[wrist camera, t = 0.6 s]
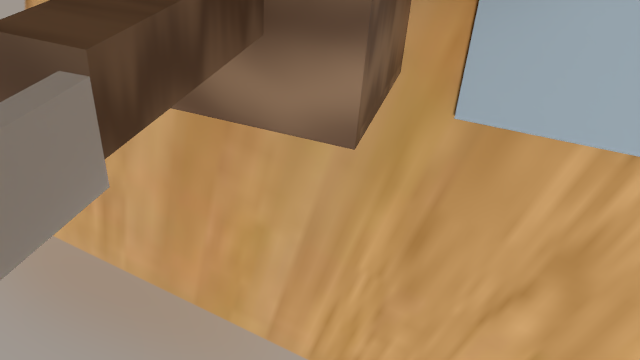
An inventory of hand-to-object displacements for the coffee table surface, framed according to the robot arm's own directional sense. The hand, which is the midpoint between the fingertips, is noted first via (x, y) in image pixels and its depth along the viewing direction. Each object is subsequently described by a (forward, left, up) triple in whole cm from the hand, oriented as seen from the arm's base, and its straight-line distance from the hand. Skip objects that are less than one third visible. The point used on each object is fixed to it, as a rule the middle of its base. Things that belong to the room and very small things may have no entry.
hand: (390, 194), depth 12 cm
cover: (+3, -13, -31) cm, 34 cm away
